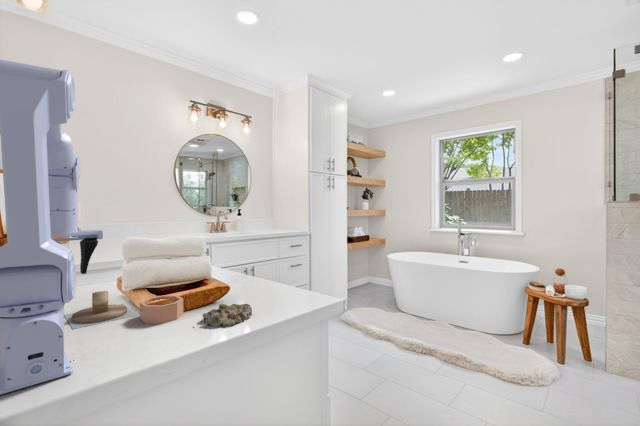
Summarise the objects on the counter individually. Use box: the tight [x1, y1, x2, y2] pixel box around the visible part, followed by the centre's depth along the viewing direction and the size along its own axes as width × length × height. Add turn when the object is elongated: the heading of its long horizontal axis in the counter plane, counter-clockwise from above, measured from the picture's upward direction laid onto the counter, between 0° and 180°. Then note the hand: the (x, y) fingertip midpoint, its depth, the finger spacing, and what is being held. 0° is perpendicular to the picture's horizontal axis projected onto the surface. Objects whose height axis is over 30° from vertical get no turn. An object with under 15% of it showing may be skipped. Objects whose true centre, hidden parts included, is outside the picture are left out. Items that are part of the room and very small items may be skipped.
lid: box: [72, 290, 128, 323], centre depth 68 cm, size 10×10×5 cm
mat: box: [64, 303, 138, 330], centre depth 68 cm, size 11×11×1 cm
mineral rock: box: [202, 303, 253, 328], centre depth 67 cm, size 11×4×8 cm
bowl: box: [139, 295, 184, 324], centre depth 67 cm, size 8×8×4 cm
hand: (60, 275), depth 66 cm, fingers open, 7 cm apart
